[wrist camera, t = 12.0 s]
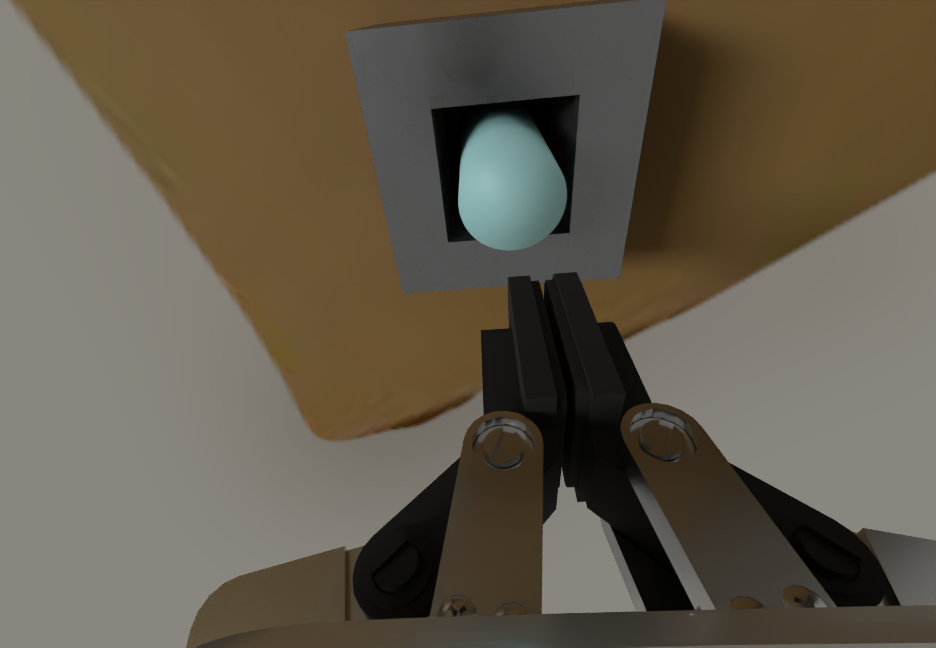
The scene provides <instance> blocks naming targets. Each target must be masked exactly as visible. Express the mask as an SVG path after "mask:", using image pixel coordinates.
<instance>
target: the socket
mask: <svg viewBox="0 0 936 648" xmlns="http://www.w3.org/2000/svg"><path fill="white" fill-rule="evenodd" d="M665 6H666V0H599V1H589V2H580V3H571V4H562V5H552V6H543V7H534V8H525V9H515V10H506V11H497V12H487V13H478V14H469V15H460V16H450V17H441V18H432V19H423V20H413V21H404V22H395V23H386V24H377V25H372V26H368V27H363V28H359V29H354V30H350V31H345V36H346V41H347V45H348V50H349V54H350V59H351V63H352V68H353V72H354V77H355V81H356V86H357V90H358V95H359V99H360V104H361V108H362V113H363V117H364V122H365V126H366V131H367V135H368V140H369V144H370V149H371V153H372V158H373V162H374V167H375V171H376V176H377V180H378V185H379V189H380V194H381V198H382V203H383V207H384V212H385V216H386V221H387V225H388V230H389V234H390V238H391V243H392V247H393V252H394V256H395V261H396V265H397V270H398V274H399V279H400V283H401V288H402V292H403V293H413V292H427V291H441V290H455V289H469V288H483V287H497V286H508V277H514V276H528V275H530V278H531V281H539V283H545V280H552V277H553V274H556V273H570V272H577V274H578V276H579V279H580V281H582V280H596V279H610V278H620V273H621V267H622V261H623V255H624V249H625V243H626V237H627V231H628V225H629V219H630V213H631V207H632V202H633V196H634V190H635V184H636V178H637V172H638V166H639V160H640V154H641V148H642V142H643V136H644V130H645V124H646V118H647V113H648V107H649V101H650V95H651V89H652V83H653V77H654V71H655V65H656V59H657V53H658V47H659V41H660V35H661V29H662V23H663V18H664V12H665ZM550 97H552V99H551V127H550V151H551V153H552V155H553V157H554V159H555V160H556V162H557V164H558V166H559V168H560V170H561V172H562V174H563V176H564V179H565V182H566V188H567V201H566V206H565V210H564V213H563V215H562V218H561V220H560V221H559V223H558V225H557V226H556V227H555V229H554V230H553V231H552V232H551V233H550V234H549V235H548V236H547V237H546V238H544V239H543V240H541V241H540V242H538V243H537V244H535V245H533V246H530V247H527V248H524V249H520V250H512V251H506V250H498V249H494V248H491V247H488V246H486V245H484V244H482V243H481V242H479V241H478V240H476V239H475V238H474V237H473V236H472V235H471V234H470V233H469V231H468V230H467V229H466V227H465V226H464V224H463V221H462V219H461V216H460V213H459V207H458V194H459V192H457V193H452V186H451V177H450V168H449V159H448V150H447V141H446V132H445V123H444V114H443V108H445V107H456V106H466V105H477V104H487V103H498V102H508V101H519V100H529V99H539V98H550Z"/></svg>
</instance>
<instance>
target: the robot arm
mask: <svg viewBox="0 0 936 648" xmlns="http://www.w3.org/2000/svg"><path fill="white" fill-rule="evenodd" d="M508 310H509V329H494V330H481V347H482V377H483V406H484V415H483V416H481V417H480V418H478V419H477V420H475V421H474V422H473V423H472V425H471V426H470V427H469V428H468V430H467V432H466V435H465V437H464V441H463V447H462V452H461V457H460V458H459V459H458V460H457V461H456V462H454V463H453V464H452V465H451V466H450V467H449V468H448V469H447V470H446V471H444V472H443V473H442V474H441V475H440V476H439V477H438V478H437V479H436V480H434V481H433V482H432V484H430V485H429V486H428V487H427V488H426V489H425V490H423V491H422V492H421V493H420V494H419V495H418V496H417V497H416V498H415V499H413V500H412V501H411V502H410V503H409V504H408V505H407V506H406V507H405V508H404V509H402V510H401V511H400V512H399V513H398V514H397V515H396V516H395V517H394V518H392V519H391V520H390V521H389V522H388V523H387V524H386V525H385V526H384V527H383V528H381V529H380V530H379V531H378V532H377V533H376V534H375V535H374V536H373V537H372V538H371V539H370V540H369V541H368V543H366V545H365V546H362V547H358V548H355V549H351V550H348V551H347V549H346V547H345V546H344V547H340V548H337V549H333V550H330V551H326V552H323V553H319V554H315V555H312V556H309V557H305V558H301V559H298V560H294V561H291V562H287V563H284V564H280V565H277V566H273V567H270V568H266V569H263V570H259V571H255V572H252V573H248V574H245V575H241V576H238V577H236V578H234V579H232V580H230V581H228V582H225V583H224V584H223V585H222V586H220V587H219V588H218V589H217V590H216V591H214V592H213V593H212V594H211V595H210V596H209V597H208V599H207V600H206V601H205V603H204V604H203V605H202V607H201V608H200V609H199V611H198V613H197V615H196V618H195V620H194V622H193V625H192V627H191V630H190V634H189V638H188V642H187V646H186V648H936V540H929V539H923V538H918V537H912V536H907V535H901V534H895V533H889V532H883V531H878V530H872V529H866V528H862V529H861V530H860V531H859V532H858V533H855V532H852V531H850V530H849V529H847V528H846V527H844V526H843V525H841V524H839V523H838V522H837V521H835V520H833V519H832V518H830V517H828V516H826V515H824V514H822V513H821V512H819V511H817V510H815V509H813V508H811V507H810V506H808V505H806V504H804V503H802V502H800V501H798V500H797V499H795V498H793V497H791V496H789V495H788V494H786V493H784V492H782V491H780V490H778V489H777V488H775V487H773V486H771V485H769V484H767V483H765V482H764V481H762V480H760V479H758V478H756V477H754V476H753V475H751V474H749V473H747V472H745V471H744V470H741V469H740V468H738V467H736V466H734V465H732V464H730V463H729V462H728V461H727V460H726V458H725V457H724V456H723V454H722V453H721V452H720V450H719V449H718V448H717V446H716V445H715V444H714V442H713V441H712V440H711V438H710V437H709V436H708V434H707V433H706V432H705V430H704V429H703V428H702V427H701V426H700V425H699V423H698V422H697V421H696V420H695V419H694V418H693V417H691V416H690V415H688V414H686V413H685V412H683V411H682V410H679V409H677V408H674V407H672V406H669V405H664V404H658V403H652V402H651V400H650V398H649V396H648V394H647V391H646V389H645V387H644V385H643V383H642V381H641V379H640V376H639V374H638V372H637V370H636V368H635V366H634V363H633V361H632V359H631V357H630V355H629V353H628V351H627V348H626V346H625V344H624V341H623V339H622V337H621V335H620V333H619V331H618V328H617V327H616V325H615V323H613V322H603V323H597V321H596V318H595V316H594V313H593V311H592V308H591V306H590V303H589V301H588V298H587V296H586V293H585V291H584V288H583V286H582V283H581V281H580V279H579V276H578V274H577V272H570V273H556V274H553V277H552V280H545V284H544V299H543V295H542V291H541V287H540V283H539V281H531V278H530V275H528V276H514V277H508ZM561 466H562V471H563V476H564V481H565V485H566V487H574V488H575V492H576V497H577V501H578V502H583V501H584V502H585V501H586V504H587V508H588V509H590V510H591V511H592V512H594V513H595V514H596V515H598V516H599V517H600V518H601V523H602V528H603V531H604V533H605V536H606V538H607V541H608V543H609V546H610V548H611V551H612V553H613V555H614V558H615V560H616V563H617V565H618V568H619V570H620V573H621V575H622V578H623V580H624V582H625V585H626V587H627V590H628V592H629V595H630V597H631V600H632V602H633V604H634V607H635V609H636V612H606V613H605V612H604V613H565V614H542V535H543V529H542V528H543V524H544V523H545V521H546V520H547V519H548V518H549V517H550V516H551V514H552V513H553V512H554V511H555V510H556V503H557V493H558V488H559V486H560V476H561Z"/></svg>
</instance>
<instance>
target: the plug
mask: <svg viewBox="0 0 936 648" xmlns="http://www.w3.org/2000/svg"><path fill="white" fill-rule="evenodd" d="M566 201H567V188H566V182H565V179H564V176H563V174H562V172H561V170H560V168H559V166H558V164H557V162H556V160H555V159H554V157H553V155H552V153H551V151H550V150H549V148H548V146H547V144H546V142H545V140H544V139H543V137H542V135H541V133H540V131H539V130H538V128H537V126H536V124H535V122H534V120H533V119H532V117H531V115H530V113H529V112H528V110H527V109H526V108H525V107H524V106H523V105H522V104H521V103H519V102H518V101H508V102H498V103H487V104H478V105H476V106H475V107H474V108H473V109H472V110H471V112H470V113H469V115H468V116H467V118H466V120H465V122H464V125H463V129H462V139H461V157H460V176H459V194H458V207H459V213H460V216H461V219H462V221H463V224H464V226H465V227H466V229H467V230H468V231H469V233H470V234H471V235H472V236H473V237H474V238H475V239H476V240H478V241H479V242H481V243H482V244H484V245H486V246H488V247H491V248H494V249H498V250H506V251H512V250H520V249H524V248H527V247H530V246H533V245H535V244H537V243H538V242H540V241H541V240H543V239H544V238H546V237H547V236H548V235H549V234H550V233H551V232H552V231H553V230H554V229H555V227H556V226H557V225H558V223H559V221H560V220H561V218H562V215H563V213H564V210H565V206H566Z"/></svg>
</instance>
